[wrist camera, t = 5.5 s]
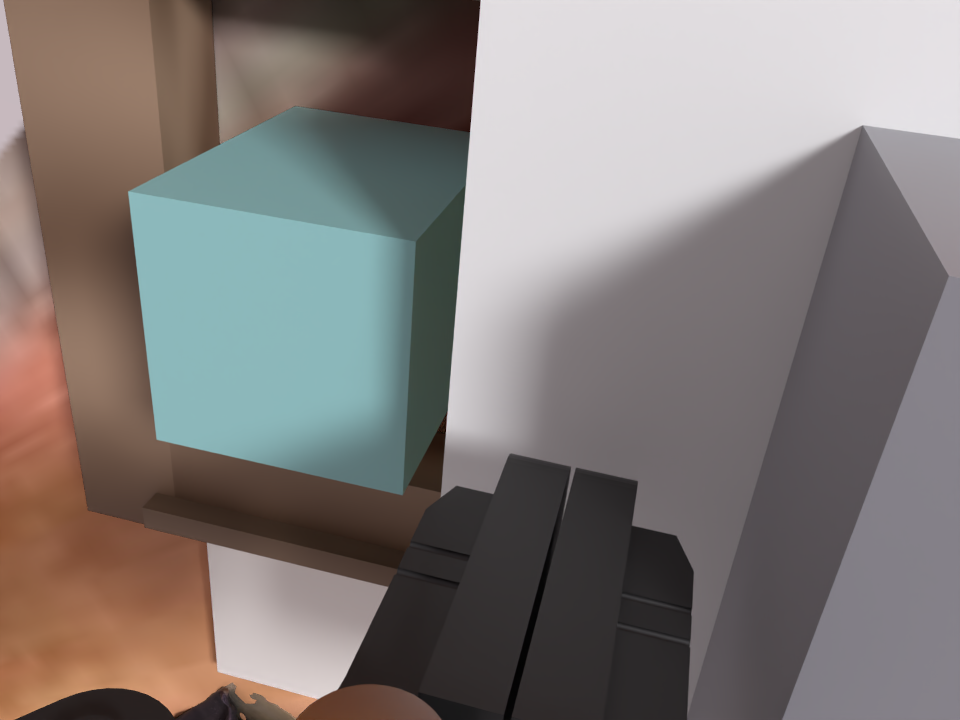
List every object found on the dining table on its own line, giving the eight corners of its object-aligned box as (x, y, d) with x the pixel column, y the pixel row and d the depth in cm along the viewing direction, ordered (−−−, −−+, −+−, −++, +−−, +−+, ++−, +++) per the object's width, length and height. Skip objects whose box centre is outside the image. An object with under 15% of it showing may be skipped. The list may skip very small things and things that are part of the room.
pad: (216, 515, 24) (205, 529, 24) (407, 561, 23) (400, 576, 23) (227, 656, 27) (217, 671, 26) (399, 702, 26) (392, 719, 26)
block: (295, 105, 18) (127, 191, 13) (506, 137, 18) (415, 241, 12) (299, 301, 21) (156, 439, 15) (486, 337, 20) (402, 495, 15)
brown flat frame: (48, -246, 16) (-70, -269, 14) (1671, -109, 12) (1905, -108, 10) (138, 461, 24) (72, 525, 22) (1142, 694, 20) (1199, 805, 17)
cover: (572, -133, 13) (335, -163, 5) (1344, -56, 11) (2772, 71, 3) (487, 581, 20) (329, 1038, 12) (960, 694, 18) (1140, 1315, 10)
